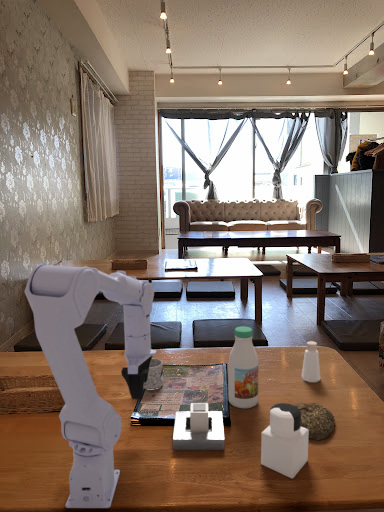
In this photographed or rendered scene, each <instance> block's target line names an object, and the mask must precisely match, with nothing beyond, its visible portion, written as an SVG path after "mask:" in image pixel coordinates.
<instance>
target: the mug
mask: <svg viewBox="0 0 384 512" xmlns="http://www.w3.org/2000/svg"><path fill="white" fill-rule="evenodd" d="M163 363H164V362H163V360H161V359H160V358H156V357H154V358H153V357H152V359H151V362H150V366H149V372H148V379H147V382H146V383H144V386H143V388H145V389H156V388H159V387H161V386H162V385H163V386H164V368H163V367H164V366H163ZM163 386H162V387H163ZM162 387H161V388H162ZM159 389H160V388H159Z"/></svg>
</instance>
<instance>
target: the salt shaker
mask: <svg viewBox="0 0 384 512" xmlns="http://www.w3.org/2000/svg"><path fill="white" fill-rule="evenodd" d="M317 346H318V342H316V341H312V340H311V341H307V343H306V349H305V350H304V356H303V362H302V368H301V369H302V370H301V376H300V377H301V378H302V380H303V381H305V382H307V383H318V382H319V381H320V380H321V368H320V353H319V351H318V350H317V349H318V348H317Z"/></svg>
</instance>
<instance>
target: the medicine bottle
mask: <svg viewBox="0 0 384 512" xmlns="http://www.w3.org/2000/svg"><path fill="white" fill-rule="evenodd" d="M294 405H295V404H292V403H286V402H285V403H284V402H280V403H276V404H274V405H273V406H271V408H270V410H269V413H270V414H269V425H268V426H267V427H266V428H265V429H264V430H262V431H261V433H260V435H261V436H260V464H261V465H262V466H263V467H266V468H268V469H270V470H272V471H275V472H277V473H279V474H281V475H283V476H285V477H288V478H290V479H294V478H295V477H296V475H297V474H298V473H299V472H300V470H301V469H302V468H303V467H304V466H305V465H306V463H307V462H308V459H309V458H308V457H309V437H308V436H309V430H308V429H306V428H304V427H301V411H300V410H299V409H298V408H297V407H296V406H294Z"/></svg>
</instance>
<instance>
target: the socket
mask: <svg viewBox="0 0 384 512" xmlns="http://www.w3.org/2000/svg"><path fill="white" fill-rule="evenodd" d="M223 421H224V419H223V411H221V410H220V411H217V410H216V411H215V410H214V411H213V410H212V411H209V410H208V432H191V430H190V411H189V410H188V411H186V410H185V411H182V410H181V411H178V410H177V411H175V417H174V426H173V427H174V428H173V435H172V436H173V437H172V446H173V447H172V451H224V450H225V431H224V430H225V429H224V422H223Z"/></svg>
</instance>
